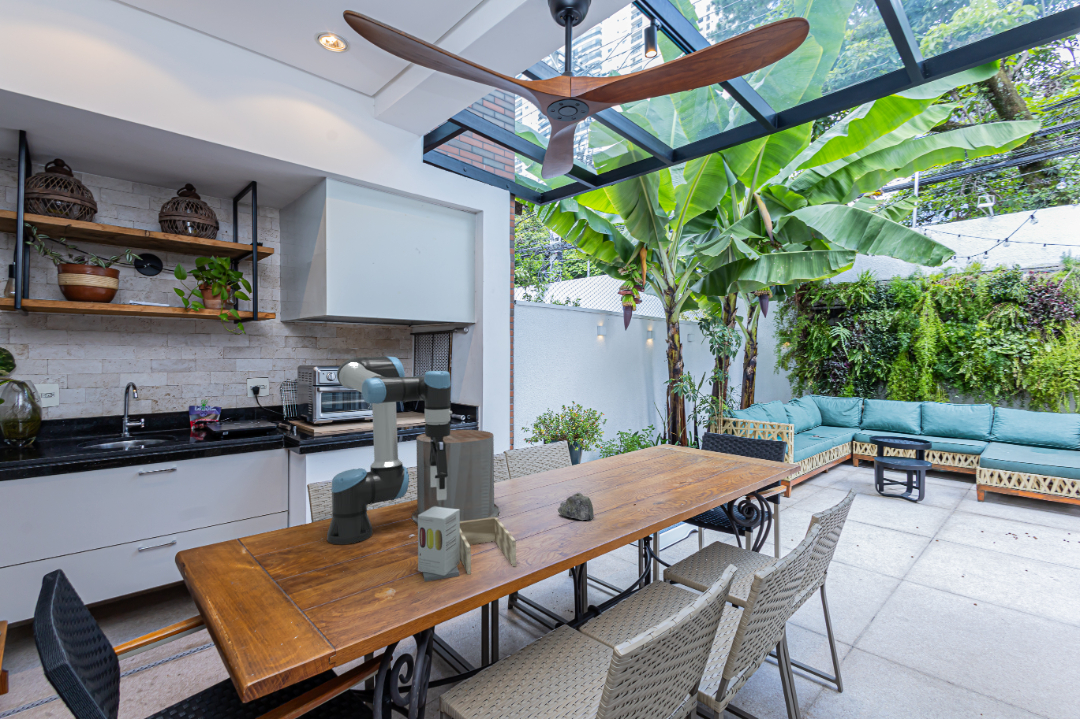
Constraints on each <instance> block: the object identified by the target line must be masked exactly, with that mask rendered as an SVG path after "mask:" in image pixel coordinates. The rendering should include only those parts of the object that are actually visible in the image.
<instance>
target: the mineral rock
mask: <svg viewBox="0 0 1080 719" xmlns="http://www.w3.org/2000/svg"><path fill="white" fill-rule="evenodd" d="M557 513H558V514H560V515H562V516H564V517H567V518H571V519H576V520H579V521H583V520H588V521H590V520H592V519H593V518H592V517H594V505H593V501H592V500H591V498H590V497H589V496H588V495H586V496H585V495H583V494H582V493H580V492H577V493H575V494H572V496H569V497H567V498H566V501H563V502H561V503H560V506H559V508H557ZM591 518H592V519H591ZM589 519H590V520H589Z"/></svg>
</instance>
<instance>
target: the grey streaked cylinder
mask: <svg viewBox="0 0 1080 719" xmlns="http://www.w3.org/2000/svg"><path fill="white" fill-rule="evenodd" d="M494 440H495V439H494V433H493V432H490V431H487V430H479V429H451V433H450V435H449V436H446V437H443V441H444V442H445V443H446V460H447V473H448V477H446V490H447V499H446V500H437V487H430V466H432V465H430V461H429V459H430V442H431V438H430V437H427V436H426V435H425V433H422V434H419V435H417V436H416V495H417V496H416V498H417V501H416V505H417V506H416V507H417V508H416V509H415V510H414V511H413V512H412V515H411V520H413V521H412V523H413V522H414V523H415V524H417V525H418V515H419V514H421V513H423V512H425V511H426V510H428V509H430V508H432V507H434V506H436V507H443V508H451V509H459V510H460V521H468V520H476V519H484V518H491V517H498V518H499V516H500V515H499V513H500V507H499V506H498V505H497V504H495V469H494V468H495V464H494V463H495V460H494V459H495V456H494V453H495V452H494V451H495V450H494V448H495V447H494ZM441 473H444V472H441ZM498 515H499V516H498ZM414 523H413V524H414ZM415 524H414V525H415ZM417 525H416V526H417Z"/></svg>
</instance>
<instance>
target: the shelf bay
mask: <svg viewBox="0 0 1080 719" xmlns="http://www.w3.org/2000/svg"><path fill="white" fill-rule="evenodd" d="M491 541H494V542H495V544H496V543H497V544H496V545H497V547H498V548H499V549H500V551H501V550H502V551H501V552H502V553H503V555H504V556H505V558H506V559H507V560H509V561H508V562H509V563H510V565H511V564H512V565H511V566H512V567H513V566H515V567H517V540H516V539H515V537H513V535H512V534H511V533H510V532H509V530H508V529H507V528H506V527H505V525H504V524H503V523H502V522H501V520H500V519H499V517H498V518H497V517H491V518H484V519H476V520H468V521H460V562H461V564H462V565H464V566H463V568H464V570H465V572H466V574H467V575H471V574H472V553H471V552H472V549H471V548H472V547H471V546H472V545H471V544H474V545H480V544H479V543H481V544H486V543H485V542H488V543H492V542H491Z"/></svg>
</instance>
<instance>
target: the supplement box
mask: <svg viewBox="0 0 1080 719" xmlns="http://www.w3.org/2000/svg"><path fill="white" fill-rule="evenodd" d="M460 562H461V559H460V510H459V509H451V508H443V507H436V506H434V507H432V508H430V509H428V510H426V511H425V512H423V513H421V514H419V515H418V526H417V571H418V572H421V573H422V572H427V573H433V574H438V575H444V576H445V575H446V574H447V573H448V572H450V571H451V570H452V569H453V568H455V567H456V566H457V567H458V565H459V564H460Z"/></svg>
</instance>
